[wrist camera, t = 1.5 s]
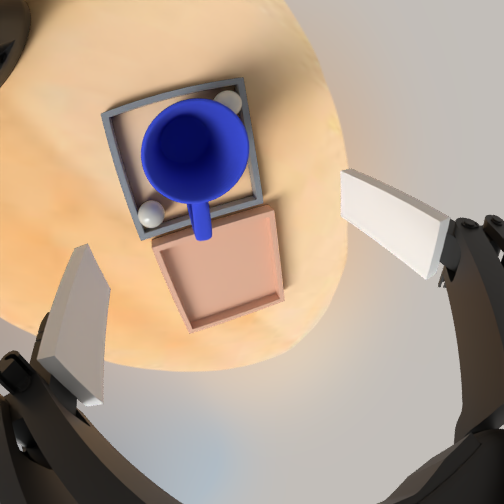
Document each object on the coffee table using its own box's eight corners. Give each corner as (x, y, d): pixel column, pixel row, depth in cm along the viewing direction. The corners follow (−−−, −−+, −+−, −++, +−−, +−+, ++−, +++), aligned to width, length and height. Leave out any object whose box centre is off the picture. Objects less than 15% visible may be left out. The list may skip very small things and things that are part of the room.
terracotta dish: (151, 240, 31) (151, 247, 29) (267, 204, 34) (274, 210, 32) (187, 324, 39) (189, 333, 38) (279, 292, 42) (284, 300, 41)
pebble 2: (208, 94, 25) (213, 92, 23) (235, 89, 26) (243, 87, 23) (213, 119, 27) (219, 120, 24) (239, 114, 27) (248, 114, 25)
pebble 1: (135, 201, 28) (133, 211, 26) (160, 193, 29) (160, 202, 26) (143, 224, 30) (142, 236, 27) (167, 217, 30) (168, 227, 28)
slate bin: (103, 113, 22) (100, 113, 21) (239, 78, 25) (243, 77, 24) (141, 235, 30) (141, 240, 29) (259, 199, 33) (263, 203, 32)
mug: (156, 213, 30) (159, 256, 22) (142, 109, 24) (135, 107, 15) (225, 201, 32) (253, 237, 24) (218, 99, 26) (248, 94, 18)
